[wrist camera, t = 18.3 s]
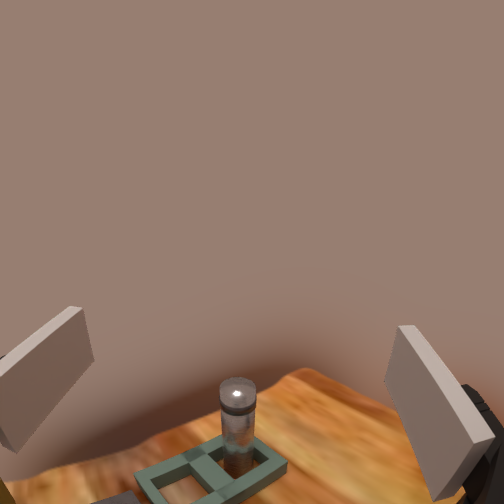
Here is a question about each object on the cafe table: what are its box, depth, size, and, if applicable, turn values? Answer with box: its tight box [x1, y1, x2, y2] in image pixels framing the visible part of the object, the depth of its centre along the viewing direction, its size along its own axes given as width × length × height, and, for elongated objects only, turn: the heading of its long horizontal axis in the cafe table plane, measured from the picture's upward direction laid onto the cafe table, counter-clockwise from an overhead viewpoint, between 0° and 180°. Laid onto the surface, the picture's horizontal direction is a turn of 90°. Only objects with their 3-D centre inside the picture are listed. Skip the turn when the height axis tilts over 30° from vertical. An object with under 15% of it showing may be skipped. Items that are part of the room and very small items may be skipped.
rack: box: [133, 434, 288, 504], centre depth 34 cm, size 10×18×3 cm, turn 131°
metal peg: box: [219, 377, 256, 479], centre depth 35 cm, size 4×4×16 cm
